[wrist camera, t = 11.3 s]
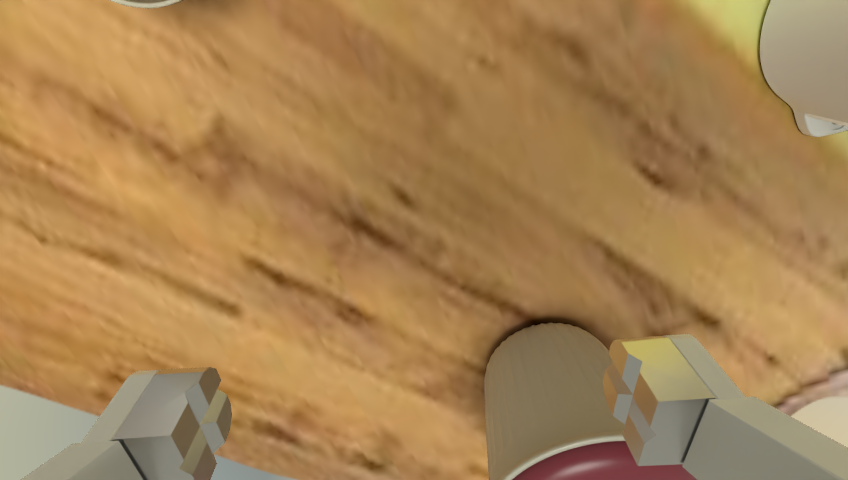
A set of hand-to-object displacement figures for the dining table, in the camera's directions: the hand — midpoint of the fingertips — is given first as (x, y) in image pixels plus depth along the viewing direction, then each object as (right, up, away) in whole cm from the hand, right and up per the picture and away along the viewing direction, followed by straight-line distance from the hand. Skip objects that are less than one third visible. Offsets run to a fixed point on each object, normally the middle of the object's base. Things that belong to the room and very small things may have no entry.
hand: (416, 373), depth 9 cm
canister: (+13, -11, +41) cm, 44 cm away
